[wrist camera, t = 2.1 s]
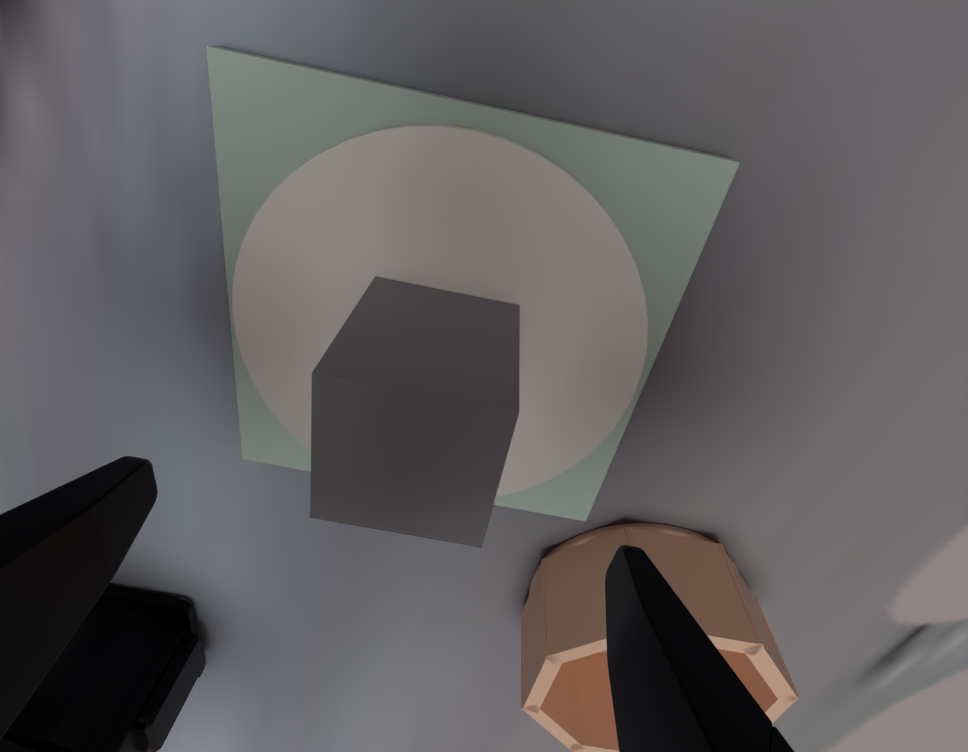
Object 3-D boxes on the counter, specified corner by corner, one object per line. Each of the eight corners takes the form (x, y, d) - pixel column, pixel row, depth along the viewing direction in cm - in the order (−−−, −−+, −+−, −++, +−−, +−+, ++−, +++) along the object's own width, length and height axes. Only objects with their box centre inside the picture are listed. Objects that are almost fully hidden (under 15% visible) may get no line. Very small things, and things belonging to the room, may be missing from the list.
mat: (249, 448, 19) (242, 459, 19) (218, 46, 12) (205, 45, 12) (584, 509, 20) (585, 521, 19) (731, 158, 13) (740, 162, 13)
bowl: (508, 635, 25) (506, 740, 21) (558, 503, 20) (566, 609, 16) (690, 666, 25) (720, 775, 21) (782, 544, 20) (842, 657, 17)
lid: (255, 451, 19) (160, 593, 14) (229, 75, 12) (34, 87, 7) (576, 509, 19) (596, 665, 14) (711, 178, 13) (830, 255, 8)
